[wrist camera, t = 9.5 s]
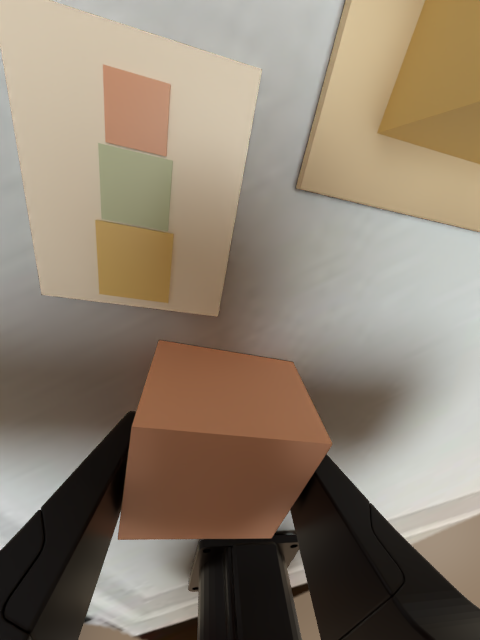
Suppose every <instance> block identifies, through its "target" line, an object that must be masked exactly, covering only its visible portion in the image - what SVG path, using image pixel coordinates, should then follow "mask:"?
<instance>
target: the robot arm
mask: <svg viewBox="0 0 480 640" xmlns="http://www.w3.org/2000/svg"><path fill="white" fill-rule="evenodd" d="M135 414H136V411H130V412H128V413H127V414H126V415H125V416H124V418H123V419H122V420H121V421H120V422H119V423H118V424H117V425H116V426H115V427H114V428H113V430H112V431H111V432H110V433H109V434H108V435H107V436H106V437H105V438H104V439H103V440H102V442H101V443H100V444H99V445H98V446H97V447H96V448H95V449H94V450H93V451H92V452H91V454H90V455H89V456H88V457H87V458H86V459H85V460H84V461H83V462H82V463H81V464H80V466H79V467H78V468H77V469H76V470H75V471H74V472H73V473H72V474H71V475H70V476H69V478H68V479H67V480H66V481H65V482H64V483H63V484H62V485H61V486H60V487H59V488H58V490H57V491H56V492H55V493H54V494H53V495H52V496H51V497H50V498H49V499H48V500H47V502H46V503H45V504H44V505H43V506H42V507H41V510H38V511H37V512H36V513H35V514H34V516H33V517H32V518H31V519H30V520H29V521H28V522H27V523H26V524H25V525H24V526H23V527H22V529H21V530H20V531H19V532H18V533H17V534H16V535H15V536H14V537H13V538H12V539H11V540H10V541H9V542H8V543H7V544H6V545H5V546H4V547H3V548H2V549H1V550H0V640H78V638H79V635H80V632H81V629H82V626H83V623H84V620H85V617H86V614H87V611H88V608H89V605H90V602H91V599H92V596H93V593H94V590H95V587H96V584H97V581H98V578H99V575H100V572H101V569H102V566H103V563H104V560H105V557H106V554H107V551H108V548H109V545H110V542H111V539H112V536H113V533H114V530H115V527H116V524H117V521H118V518H119V515H120V512H121V509H122V500H123V492H124V484H125V476H126V468H127V460H128V452H129V444H130V436H131V427H132V424H133V421H134V417H135ZM290 511H291V515H292V519H293V523H294V527H295V532H296V535H273V537H272V538H260V539H203V540H201V541H199V543H198V547H197V551H196V554H195V558H194V562H193V566H192V570H191V574H190V578H189V586H188V590H189V591H192V592H195V591H199V597H198V640H302V638H301V633H300V628H299V624H298V619H297V614H296V609H295V604H294V600H293V595H292V590H291V585H290V580H289V576H288V571H287V568H288V566H289V564H290V563H291V561H292V560H293V558H294V557H295V555H296V553H297V552H298V550H299V549H300V553H301V557H302V561H303V565H304V570H305V574H306V578H307V582H308V586H309V591H310V595H311V599H312V603H313V608H314V612H315V616H316V620H317V624H318V629H319V633H320V637H321V640H480V609H479V608H478V607H477V606H475V605H474V604H473V603H471V602H470V601H469V600H468V599H467V598H465V597H464V596H463V595H462V594H461V593H460V592H459V591H458V590H457V589H456V588H454V586H453V585H451V584H450V583H449V582H448V581H447V580H446V579H445V578H444V577H443V576H442V575H441V574H440V573H439V572H438V571H437V570H436V569H435V568H434V567H433V566H432V565H431V564H430V563H429V562H428V561H427V560H426V559H425V558H424V557H423V556H422V555H421V554H420V553H418V552H417V551H416V550H415V549H414V548H413V547H412V546H411V545H410V544H409V543H408V542H407V541H406V540H405V539H404V538H403V537H402V536H401V535H400V534H399V533H398V532H397V531H396V530H395V529H394V527H393V526H392V525H391V524H390V523H389V522H388V521H387V520H386V519H385V518H384V517H383V516H382V515H381V514H380V513H379V511H378V510H377V509H376V508H375V507H374V506H373V505H372V504H371V503H370V504H369V501H368V499H367V498H366V497H365V496H364V495H363V494H362V493H361V492H360V491H359V490H358V488H357V487H356V486H355V485H354V484H353V483H352V482H351V481H350V480H349V479H348V477H347V476H346V475H345V474H344V473H343V472H342V471H341V470H340V469H339V467H338V466H337V465H336V464H335V463H334V462H333V461H332V460H331V459H330V458H329V456H328V455H327V454H326V455H325V457H324V458H323V460H322V461H321V463H320V464H319V466H318V467H317V469H316V471H315V472H314V474H313V475H312V477H311V478H310V480H309V481H308V483H307V484H306V486H305V487H304V489H303V491H302V492H301V494H300V495H299V497H298V498H297V500H296V501H295V503H294V504H293V506H292V507H291V509H290Z"/></svg>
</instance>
